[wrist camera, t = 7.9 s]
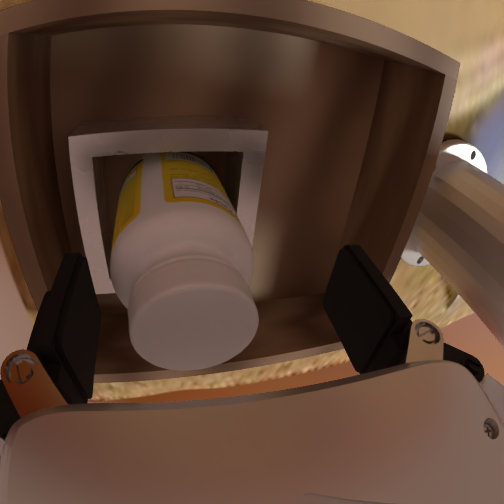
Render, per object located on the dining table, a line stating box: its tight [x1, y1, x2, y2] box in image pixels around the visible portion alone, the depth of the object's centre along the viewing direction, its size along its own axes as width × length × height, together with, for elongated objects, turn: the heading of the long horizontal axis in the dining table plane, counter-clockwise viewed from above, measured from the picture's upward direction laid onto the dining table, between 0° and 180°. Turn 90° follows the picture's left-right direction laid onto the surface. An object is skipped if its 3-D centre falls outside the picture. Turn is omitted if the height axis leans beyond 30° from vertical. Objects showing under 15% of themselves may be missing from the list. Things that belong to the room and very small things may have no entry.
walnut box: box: [0, 0, 460, 383], centre depth 16 cm, size 20×20×6 cm
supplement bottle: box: [110, 151, 259, 371], centre depth 13 cm, size 5×5×10 cm
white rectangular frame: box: [68, 115, 268, 294], centre depth 15 cm, size 8×8×3 cm
